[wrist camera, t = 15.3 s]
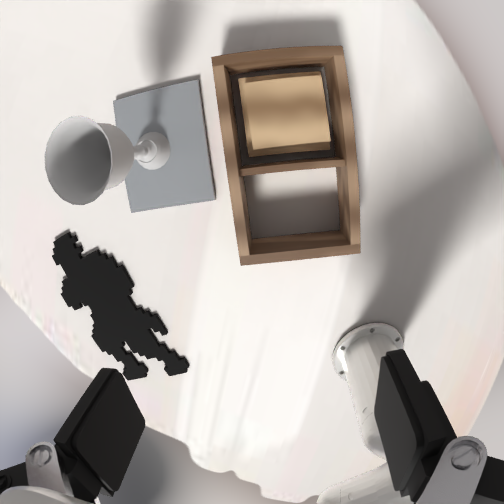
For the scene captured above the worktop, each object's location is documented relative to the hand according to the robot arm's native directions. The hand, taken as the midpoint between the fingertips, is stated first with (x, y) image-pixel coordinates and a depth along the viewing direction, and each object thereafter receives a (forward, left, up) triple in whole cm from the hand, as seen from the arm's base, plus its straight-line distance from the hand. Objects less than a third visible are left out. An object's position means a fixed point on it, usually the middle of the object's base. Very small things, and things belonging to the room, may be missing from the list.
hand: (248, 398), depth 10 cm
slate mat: (+9, +12, -33) cm, 36 cm away
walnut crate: (+6, -4, -33) cm, 33 cm away
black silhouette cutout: (-15, +27, -33) cm, 45 cm away
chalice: (+9, +13, -32) cm, 36 cm away
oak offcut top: (+11, -4, -31) cm, 33 cm away
